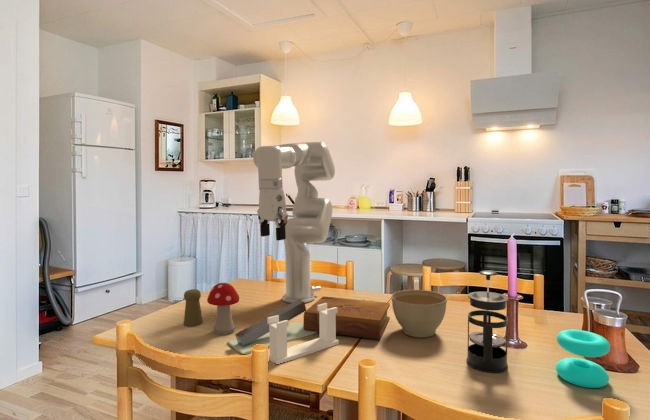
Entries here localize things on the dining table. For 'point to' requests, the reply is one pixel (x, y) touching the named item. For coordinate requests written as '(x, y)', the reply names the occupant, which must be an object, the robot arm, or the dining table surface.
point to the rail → (263, 327)
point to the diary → (351, 317)
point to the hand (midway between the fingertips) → (272, 237)
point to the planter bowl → (419, 311)
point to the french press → (487, 331)
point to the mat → (293, 333)
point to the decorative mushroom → (223, 306)
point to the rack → (284, 354)
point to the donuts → (583, 369)
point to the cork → (192, 308)
